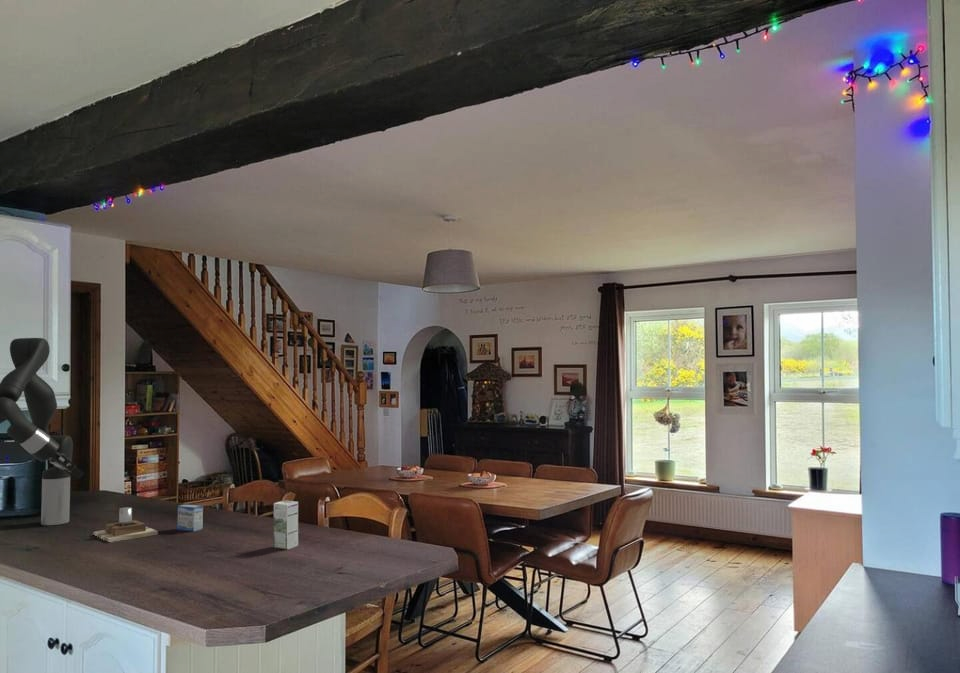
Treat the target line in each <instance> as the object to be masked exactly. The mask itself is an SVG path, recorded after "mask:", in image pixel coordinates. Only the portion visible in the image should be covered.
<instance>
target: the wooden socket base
mask: <svg viewBox="0 0 960 673" xmlns="http://www.w3.org/2000/svg"><path fill="white" fill-rule="evenodd" d="M158 534H159V532H158V530H156V529H154V528H151V527H148V526H147V524H146V523H144V522H142V521H139V520H136V519H132V525H128V526H122V527H119V521H118V522H114V523H107V524H104V530H103V529H101V530H97V531H92V536H93V535H95V536H97V537H96V538H98V537H99V538H98V539H100V538H101V539H100V540H102V539H103V540H102V541H104V540H105V541H104V542H106V541H107V542H106V543H108V542H110V543H115V541H116V542H121V540H122V541H126V540H133V539H139V538H145V537H151V536H157V535H158ZM95 536H94V537H95Z"/></svg>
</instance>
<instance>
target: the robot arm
mask: <svg viewBox="0 0 960 673" xmlns="http://www.w3.org/2000/svg"><path fill="white" fill-rule="evenodd" d="M9 353H10V358H11V361H12V364H13V365H14V368H15V369H13V370H11V371H10V372H9V373H7V374H6V375H5V376H4V377H2V380H1V381H0V424H2V423H4V422H5V421H8V422H9V426H8V428H7V430H6V433H7V435H8V436H9V437H10V438H11V439H13V440H14V441H15V442H16V443H18V444H19V445H20V446H21V447H22V448H23V449H24V450H25V451H27V452H28V453H29V454H30V455H31V456H33V457H34V458H35V459H37V460H38V461H39V462H41V463H43V462H46V461H47V460H48V461H49V463H50V464H52V465H53V466H52V467H51V468H46V469H45V470H43V471H42V475H41V476H42V477H41V509H40V511H41V512H40V513H41V514H40V516H41V517H40V525H42V526H57V525H63V524H68V523H69V522H70V507H71V506H70V505H71V504H70V503H71V476H74V477H76V478H77V479H80V478H81V477H83V476H84V474H85V473H84V472H83V471H82V470H80V469H79V468H78V467H77V465H76V463H74V462H73V449H74V441H73V438H72V437H71V436H70V435H65V434H62V435H60V434H59V435H52V434H50V432H49V425H50V422H51V421H52V419H53V418H54V415H55V413H56V412H57V409H58V402H57V399H56V395H55V391H54V389H53V388H52V386H51V385H49V383H48V382H46V381H45V380H44V378H42V377H41V376H40V375H38V374H37V372H39V370H40V369H41V368H42V367H43V365H44V364H45V363H46V362H47V360H48V359H49V356H50V344H49V342H48V340H46V338H42V337H19V338H14V339H13V340H12V341H11V342H10V345H9ZM22 394H23V395H24V398H25V404H26V407H27V410H28V413H29V416H30V420H31V421H30V420H28V418H27V416H26V415H25V413H24V412H23V410H22V409H21V407H20V406H19V405H18V403H17V402H18V401H19V400H20V398H21V396H22Z"/></svg>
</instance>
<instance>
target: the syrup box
mask: <svg viewBox="0 0 960 673" xmlns="http://www.w3.org/2000/svg"><path fill="white" fill-rule="evenodd" d="M296 547H299V501H293V500H280V501H276V502H274V503H273V548H274V549H280V550H291V549H294V548H296Z"/></svg>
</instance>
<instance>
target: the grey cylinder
mask: <svg viewBox="0 0 960 673" xmlns="http://www.w3.org/2000/svg"><path fill="white" fill-rule="evenodd" d="M118 514H119V515H118V522H119V527H122V526H128V525H132V520H133V507H129V506H128V507H126V506H125V507H121V508H119V511H118Z"/></svg>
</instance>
